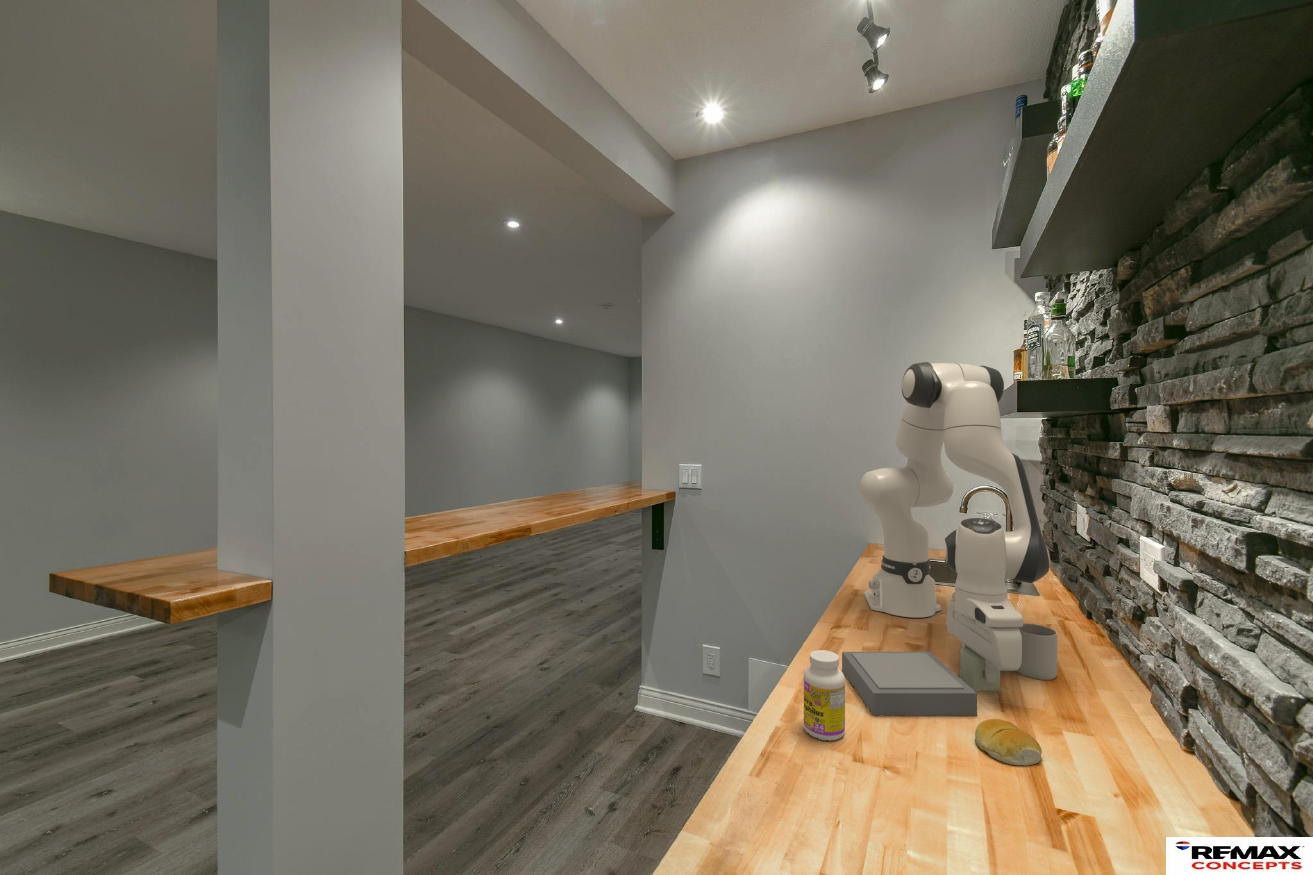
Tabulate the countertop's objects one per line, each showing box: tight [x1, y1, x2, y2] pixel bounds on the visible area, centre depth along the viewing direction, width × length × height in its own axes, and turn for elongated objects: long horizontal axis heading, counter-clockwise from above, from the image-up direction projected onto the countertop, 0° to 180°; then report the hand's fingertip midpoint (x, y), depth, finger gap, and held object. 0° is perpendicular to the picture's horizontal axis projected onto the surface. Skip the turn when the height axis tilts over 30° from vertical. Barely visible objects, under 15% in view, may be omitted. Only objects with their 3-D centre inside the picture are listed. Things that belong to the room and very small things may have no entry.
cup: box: [1016, 622, 1058, 681], centre depth 116 cm, size 7×10×9 cm
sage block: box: [959, 648, 1001, 691], centre depth 111 cm, size 5×5×6 cm
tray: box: [841, 651, 978, 717], centre depth 108 cm, size 18×18×4 cm
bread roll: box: [974, 718, 1043, 766], centre depth 89 cm, size 8×9×4 cm
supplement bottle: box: [803, 649, 846, 742], centre depth 94 cm, size 7×7×13 cm
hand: (979, 673), depth 111 cm, fingers closed on sage block, 5 cm apart
